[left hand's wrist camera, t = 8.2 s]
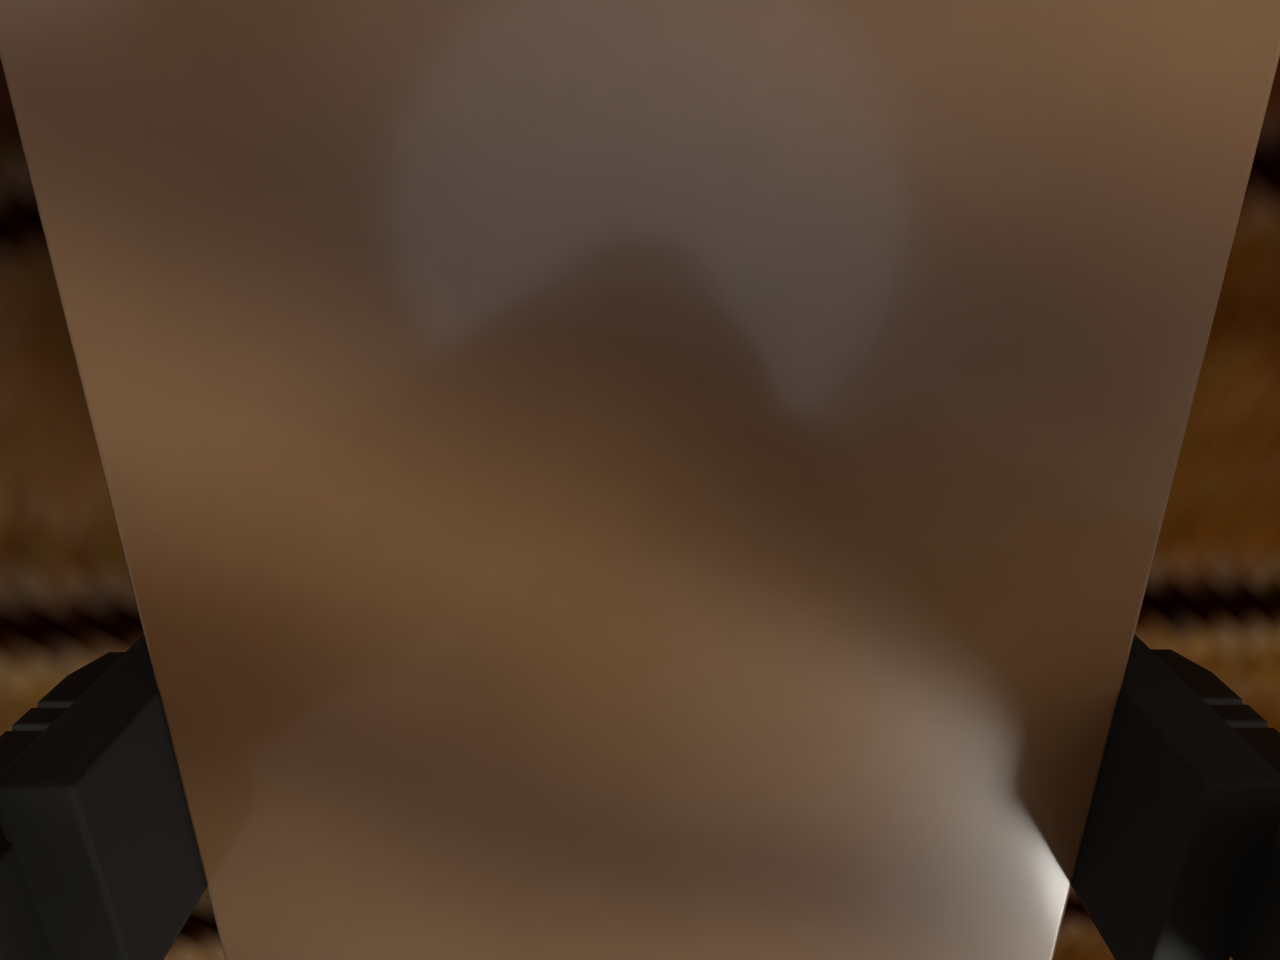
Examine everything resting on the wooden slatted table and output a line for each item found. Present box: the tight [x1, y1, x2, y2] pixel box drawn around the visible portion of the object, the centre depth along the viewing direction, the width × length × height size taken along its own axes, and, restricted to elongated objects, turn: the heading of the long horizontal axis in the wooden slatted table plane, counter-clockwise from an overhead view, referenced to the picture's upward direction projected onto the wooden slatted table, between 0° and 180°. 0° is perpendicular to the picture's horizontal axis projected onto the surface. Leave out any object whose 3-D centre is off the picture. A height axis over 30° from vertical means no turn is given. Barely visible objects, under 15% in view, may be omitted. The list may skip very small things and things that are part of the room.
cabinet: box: [0, 0, 1280, 960], centre depth 11 cm, size 18×10×8 cm, turn 0°
